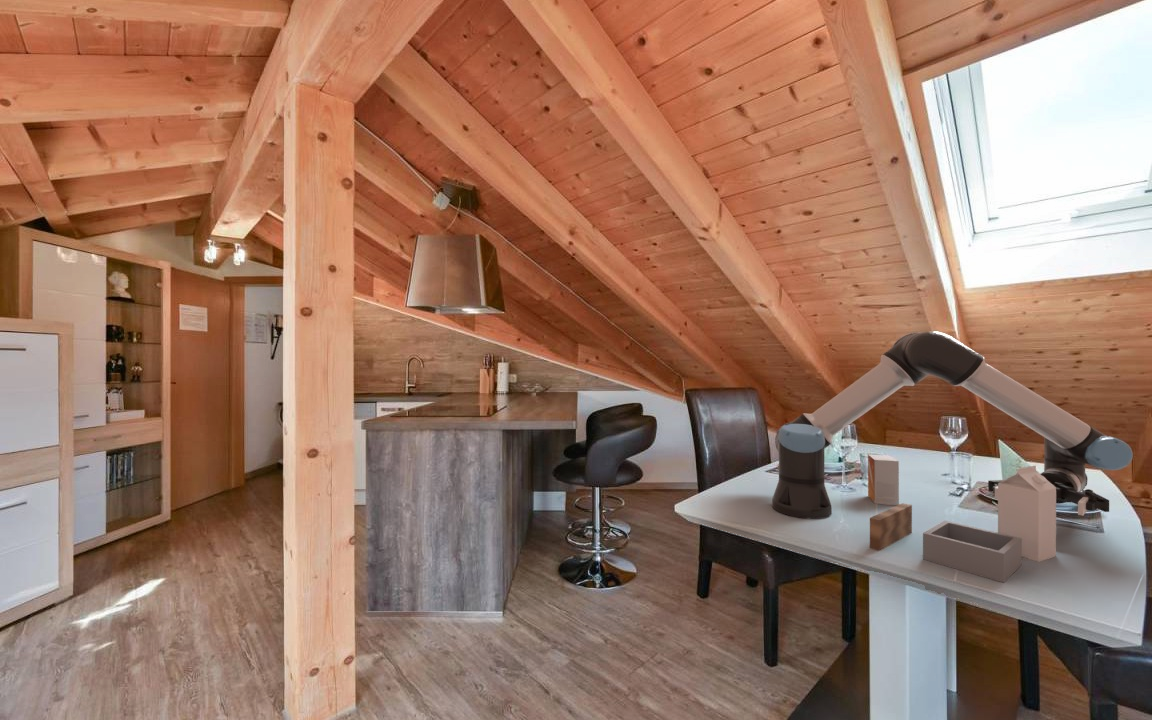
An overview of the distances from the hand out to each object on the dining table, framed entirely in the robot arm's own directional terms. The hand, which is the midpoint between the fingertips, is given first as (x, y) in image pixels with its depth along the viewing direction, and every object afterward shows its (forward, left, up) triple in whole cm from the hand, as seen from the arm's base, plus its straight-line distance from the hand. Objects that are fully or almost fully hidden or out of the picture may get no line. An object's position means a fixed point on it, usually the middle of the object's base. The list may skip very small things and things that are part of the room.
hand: (1036, 501), depth 106 cm
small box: (-21, +32, -11) cm, 39 cm away
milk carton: (-4, -3, -11) cm, 12 cm away
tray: (-18, -12, -11) cm, 24 cm away
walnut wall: (-29, -3, -11) cm, 31 cm away
